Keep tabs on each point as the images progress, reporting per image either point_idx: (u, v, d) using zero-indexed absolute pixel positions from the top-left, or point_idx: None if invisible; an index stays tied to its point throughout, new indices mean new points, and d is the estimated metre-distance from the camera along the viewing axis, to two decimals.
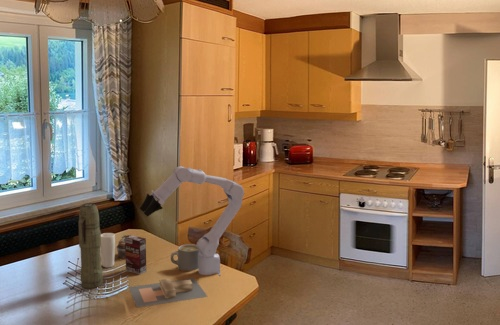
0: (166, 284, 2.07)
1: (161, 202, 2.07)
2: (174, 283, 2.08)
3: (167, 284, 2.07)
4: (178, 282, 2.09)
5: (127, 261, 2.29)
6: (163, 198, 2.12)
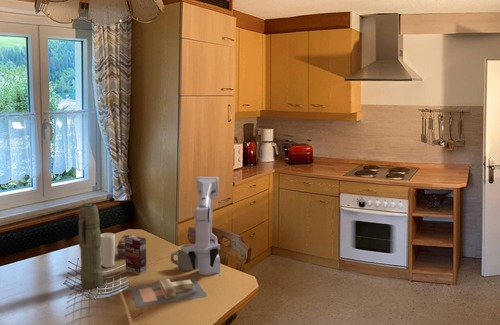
0: (166, 284, 2.07)
1: None
2: (174, 283, 2.08)
3: (167, 284, 2.07)
4: (178, 282, 2.09)
5: (127, 261, 2.29)
6: None
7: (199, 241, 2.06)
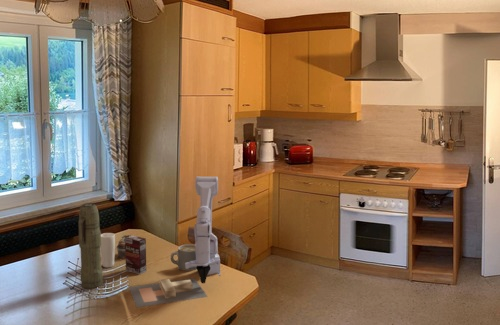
0: (166, 284, 2.07)
1: None
2: (174, 283, 2.08)
3: (167, 284, 2.07)
4: (178, 282, 2.09)
5: (127, 261, 2.29)
6: None
7: (199, 256, 2.07)
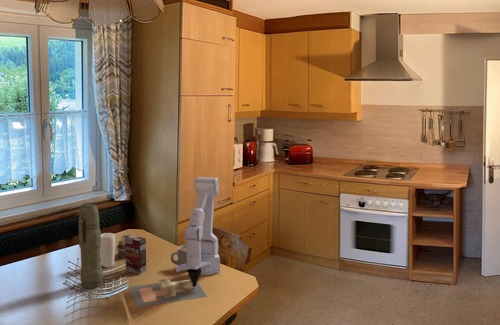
0: (166, 284, 2.07)
1: None
2: (174, 283, 2.08)
3: (167, 284, 2.07)
4: (178, 282, 2.09)
5: (127, 261, 2.29)
6: None
7: (190, 260, 2.06)
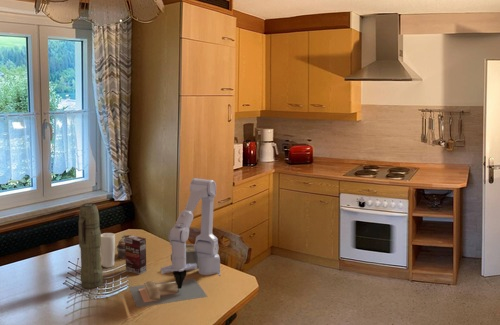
0: (150, 286, 2.05)
1: None
2: (159, 285, 2.06)
3: (152, 286, 2.05)
4: (163, 284, 2.07)
5: (127, 261, 2.29)
6: None
7: (175, 261, 2.04)
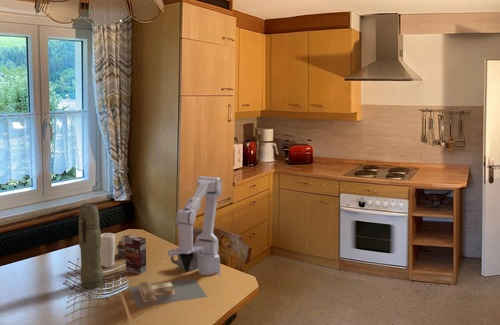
0: (146, 286, 2.04)
1: None
2: (154, 286, 2.05)
3: (147, 286, 2.04)
4: (158, 285, 2.06)
5: (127, 261, 2.29)
6: None
7: (182, 244, 2.04)
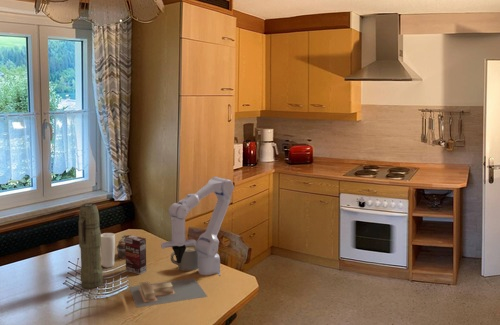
0: (146, 286, 2.04)
1: None
2: (154, 286, 2.05)
3: (147, 286, 2.04)
4: (158, 285, 2.06)
5: (127, 261, 2.29)
6: None
7: (175, 237, 2.12)
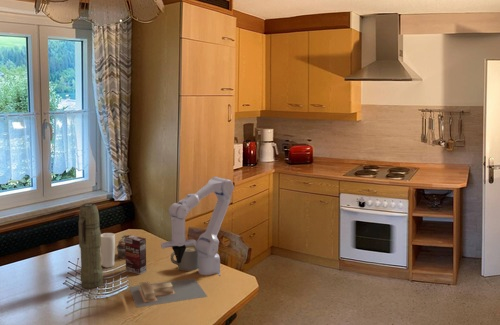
0: (146, 286, 2.04)
1: None
2: (154, 286, 2.05)
3: (147, 286, 2.04)
4: (158, 285, 2.06)
5: (127, 261, 2.29)
6: None
7: (175, 237, 2.12)
